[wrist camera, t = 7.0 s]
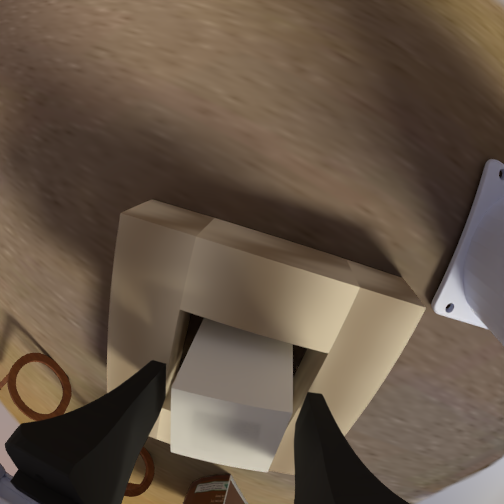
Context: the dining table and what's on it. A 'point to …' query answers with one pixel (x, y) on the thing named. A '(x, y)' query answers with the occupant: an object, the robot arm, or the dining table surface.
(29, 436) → the robot arm
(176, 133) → the dining table surface
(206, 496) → the food container
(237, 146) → the dining table surface
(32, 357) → the glasses
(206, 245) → the holder
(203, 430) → the connector plug
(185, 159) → the dining table surface
